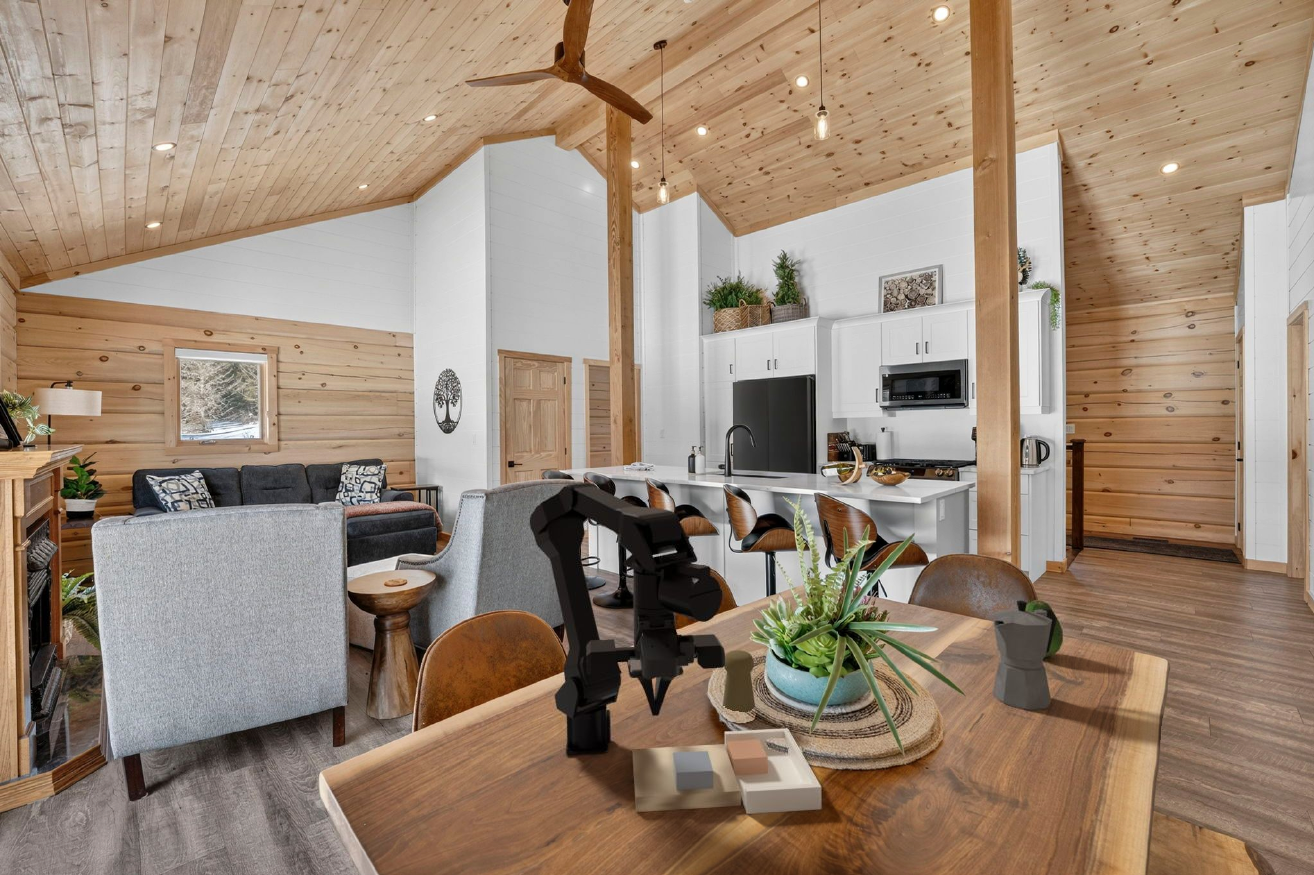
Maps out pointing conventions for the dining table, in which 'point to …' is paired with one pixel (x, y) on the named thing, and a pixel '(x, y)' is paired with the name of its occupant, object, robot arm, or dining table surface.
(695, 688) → the dining table surface
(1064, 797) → the dining table surface
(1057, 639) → the avocado
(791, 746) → the tray
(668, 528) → the robot arm
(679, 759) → the grey-blue rounded block
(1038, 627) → the coffeepot
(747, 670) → the cork
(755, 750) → the tile terracotta
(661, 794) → the board
